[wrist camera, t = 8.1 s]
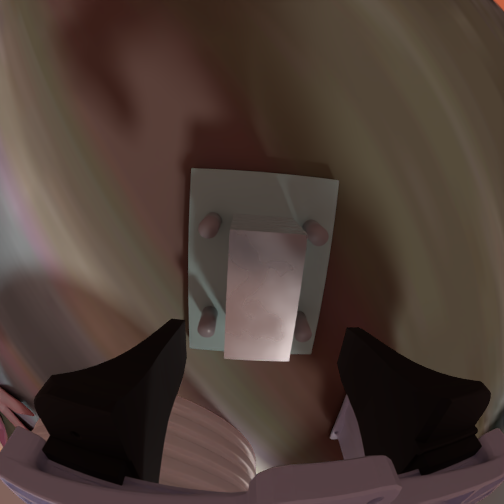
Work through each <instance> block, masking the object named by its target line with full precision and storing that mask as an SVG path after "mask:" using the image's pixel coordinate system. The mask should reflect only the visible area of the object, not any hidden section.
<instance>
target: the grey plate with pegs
mask: <svg viewBox="0 0 504 504" xmlns="http://www.w3.org/2000/svg"><path fill="white" fill-rule="evenodd" d="M338 187H339V180H333V179H326V178H317V177H309V176H300V175H290V174H280V173H268V172H256V171H242V170H225V169H204V168H191V183H190V206H189V242H188V304H189V341H190V348H194V349H205V350H217V351H224V345H225V317H226V293H227V272H228V252H229V234H230V227H231V223H232V219H233V215H234V214H248V215H262V216H275V217H288V218H294V220H295V221H296V222H297V223H298V224H299V225H300V226H301V228H302V229H303V230H304V231H305V232H306V233H307V235H308V238H307V246H306V254H305V262H304V269H303V276H302V283H301V290H300V297H299V304H298V310H297V316H296V322H295V329H294V334H293V340H292V346H291V352H290V354H311V352H312V347H313V343H314V338H315V333H316V328H317V323H318V318H319V313H320V308H321V303H322V297H323V292H324V286H325V280H326V274H327V268H328V262H329V256H330V249H331V242H332V235H333V228H334V221H335V213H336V205H337V196H338Z"/></svg>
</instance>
